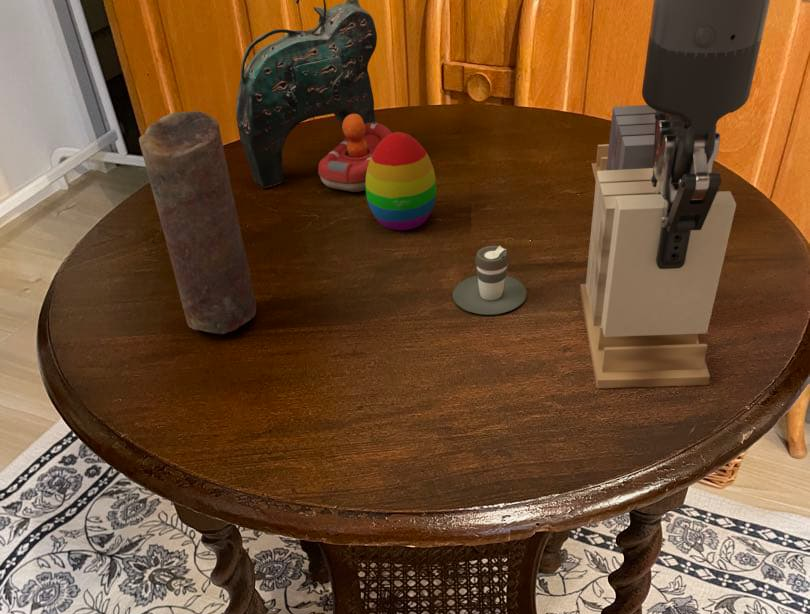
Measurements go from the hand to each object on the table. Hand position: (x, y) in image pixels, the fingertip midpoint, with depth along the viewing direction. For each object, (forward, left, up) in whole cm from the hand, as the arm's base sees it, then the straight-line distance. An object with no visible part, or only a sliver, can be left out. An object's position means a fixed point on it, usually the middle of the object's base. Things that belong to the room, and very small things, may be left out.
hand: (666, 256), depth 72 cm
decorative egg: (+24, -30, -11) cm, 40 cm away
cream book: (0, 0, -7) cm, 7 cm away
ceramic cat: (+36, -46, -11) cm, 59 cm away
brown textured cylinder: (+42, -10, -11) cm, 45 cm away
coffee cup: (+14, -13, -11) cm, 22 cm away
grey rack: (-4, -31, -11) cm, 33 cm away
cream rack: (0, -5, -11) cm, 12 cm away
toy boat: (+30, -42, -11) cm, 53 cm away
